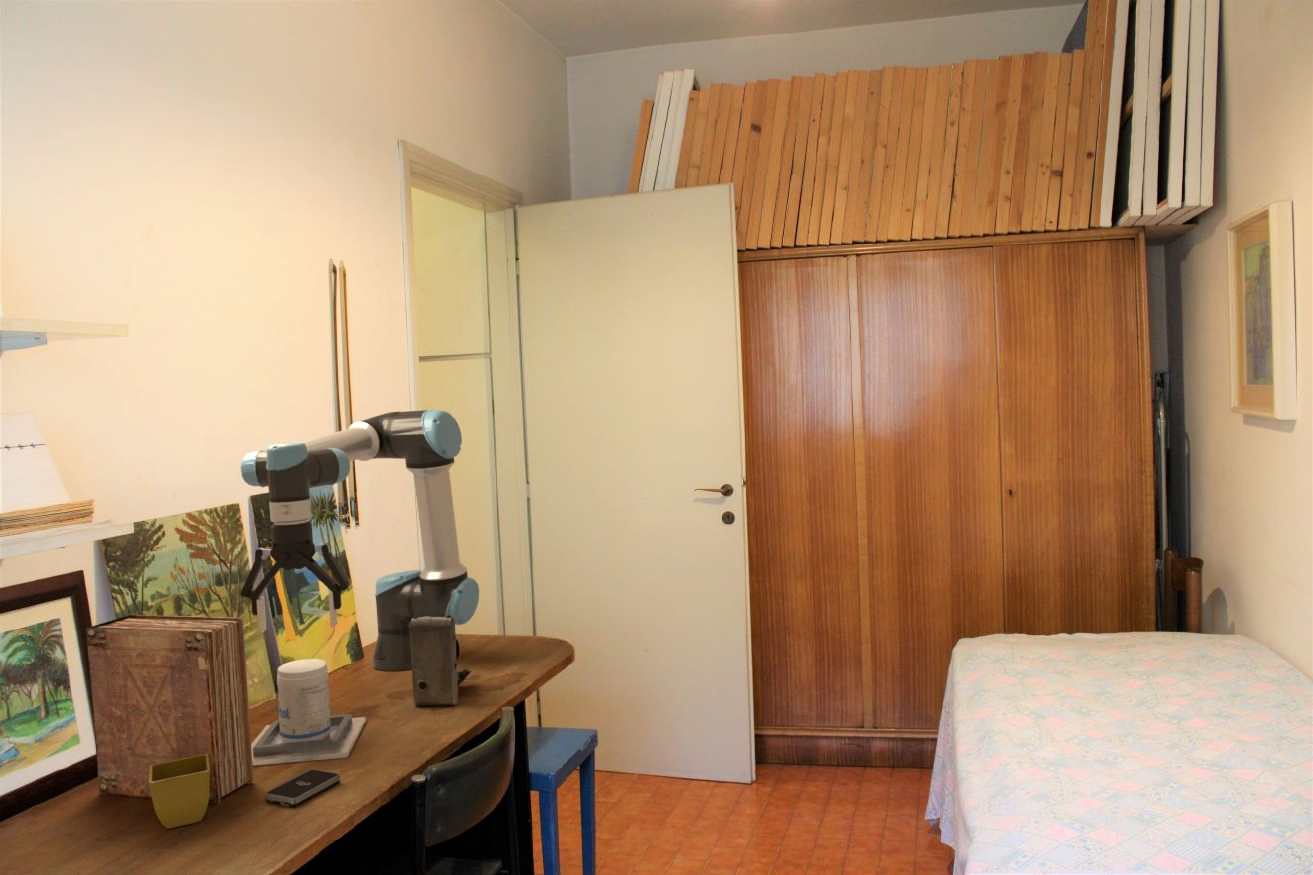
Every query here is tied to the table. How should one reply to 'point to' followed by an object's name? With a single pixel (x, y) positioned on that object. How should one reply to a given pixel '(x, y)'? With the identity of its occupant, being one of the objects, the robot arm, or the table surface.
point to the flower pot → (180, 790)
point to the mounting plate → (307, 743)
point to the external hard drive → (302, 788)
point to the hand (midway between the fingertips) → (298, 628)
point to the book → (169, 700)
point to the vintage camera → (435, 661)
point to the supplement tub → (303, 701)
